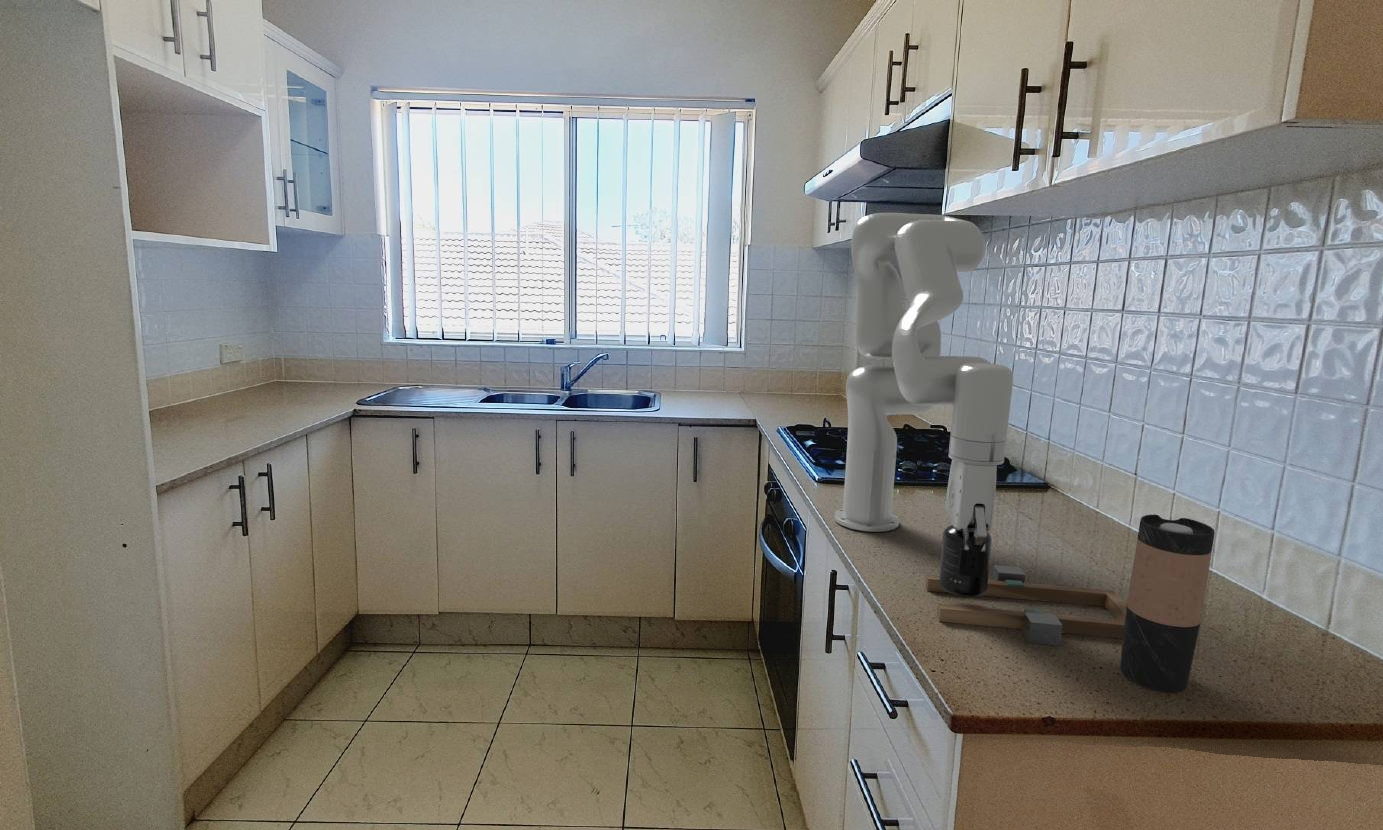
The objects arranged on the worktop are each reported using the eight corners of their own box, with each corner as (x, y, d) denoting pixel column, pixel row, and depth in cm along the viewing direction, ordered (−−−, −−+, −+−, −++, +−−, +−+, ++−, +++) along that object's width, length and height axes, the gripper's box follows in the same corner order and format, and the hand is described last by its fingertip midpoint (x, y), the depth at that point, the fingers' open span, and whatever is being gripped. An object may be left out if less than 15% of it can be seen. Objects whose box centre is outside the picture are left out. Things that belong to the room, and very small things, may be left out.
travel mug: (1162, 699, 85) (1189, 538, 81) (1103, 667, 92) (1125, 517, 88) (1204, 686, 88) (1231, 530, 84) (1143, 656, 95) (1166, 511, 91)
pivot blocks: (991, 582, 117) (993, 565, 116) (1017, 584, 116) (1019, 567, 116) (1028, 642, 98) (1030, 622, 97) (1059, 645, 97) (1062, 624, 96)
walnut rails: (925, 586, 115) (926, 572, 114) (1110, 602, 111) (1112, 588, 110) (939, 621, 103) (940, 606, 103) (1146, 640, 99) (1149, 625, 99)
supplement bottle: (947, 574, 113) (955, 501, 110) (992, 587, 109) (1001, 511, 106) (931, 588, 108) (938, 512, 105) (977, 602, 103) (986, 523, 101)
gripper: (939, 434, 113) (929, 542, 116) (961, 462, 96) (949, 587, 100) (989, 437, 112) (977, 546, 115) (1021, 466, 95) (1006, 592, 98)
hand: (964, 564), depth 107 cm, fingers closed on supplement bottle, 6 cm apart
